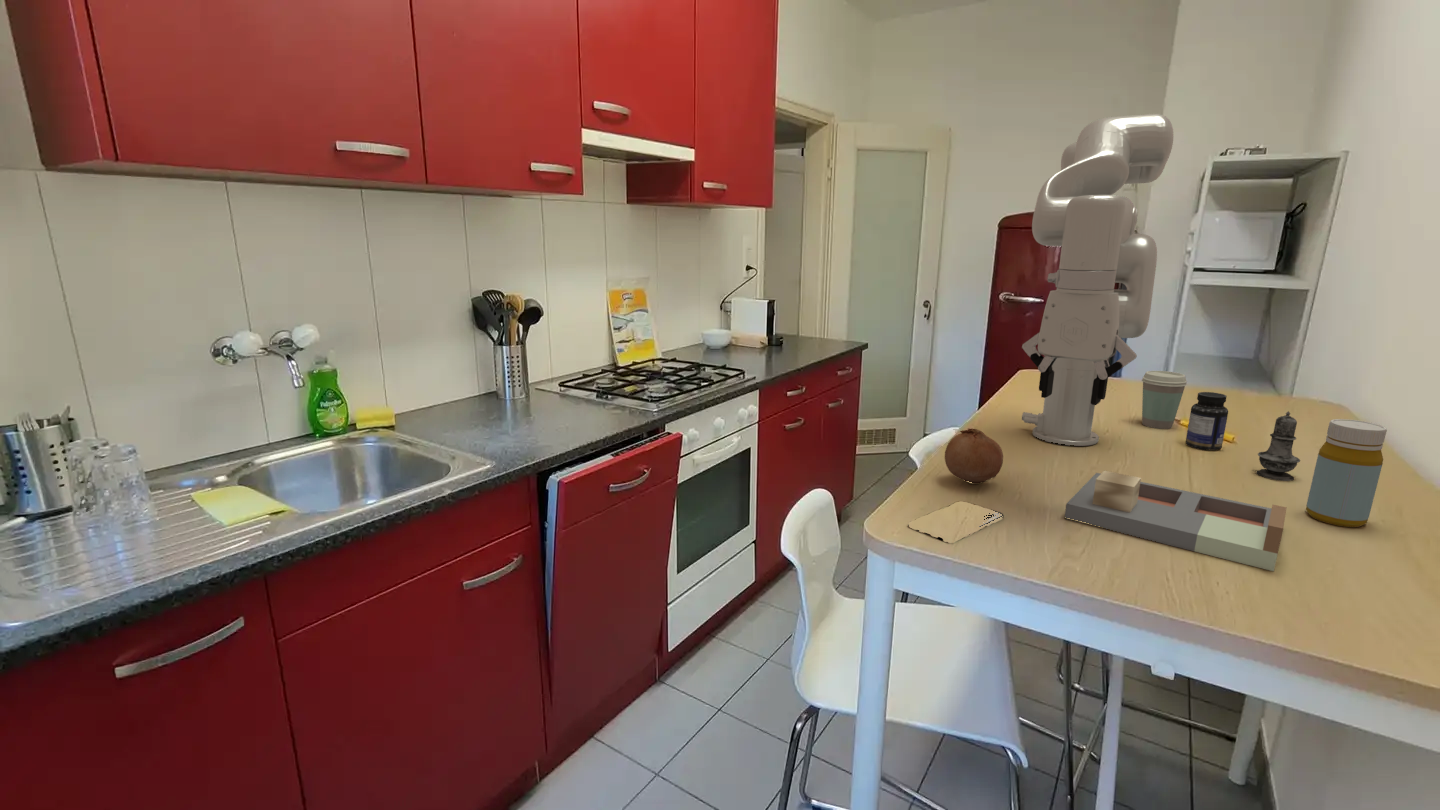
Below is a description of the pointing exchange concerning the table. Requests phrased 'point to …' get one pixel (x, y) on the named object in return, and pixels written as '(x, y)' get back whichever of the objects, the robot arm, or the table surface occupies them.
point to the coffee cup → (1161, 398)
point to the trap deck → (1190, 522)
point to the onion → (973, 456)
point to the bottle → (1347, 473)
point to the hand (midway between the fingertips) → (1070, 398)
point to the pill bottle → (1207, 422)
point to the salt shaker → (1280, 451)
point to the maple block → (1116, 491)
